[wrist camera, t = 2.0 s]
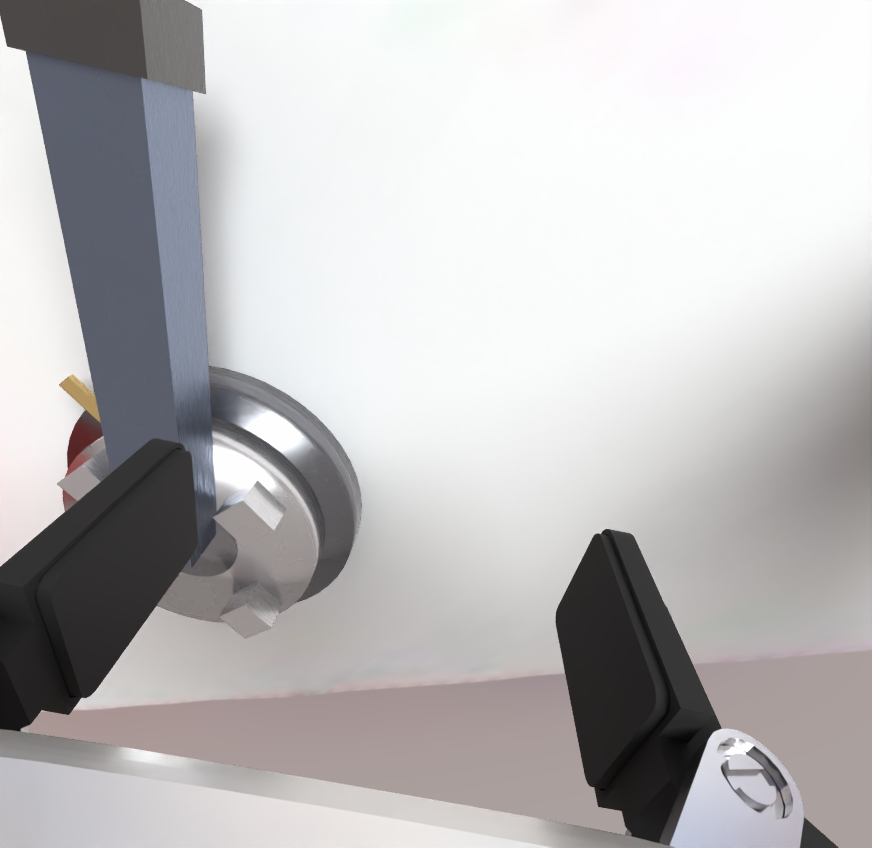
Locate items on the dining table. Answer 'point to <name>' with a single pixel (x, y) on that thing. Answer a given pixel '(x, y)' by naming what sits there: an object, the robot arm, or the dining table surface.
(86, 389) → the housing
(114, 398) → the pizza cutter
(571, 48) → the dining table surface
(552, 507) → the dining table surface
